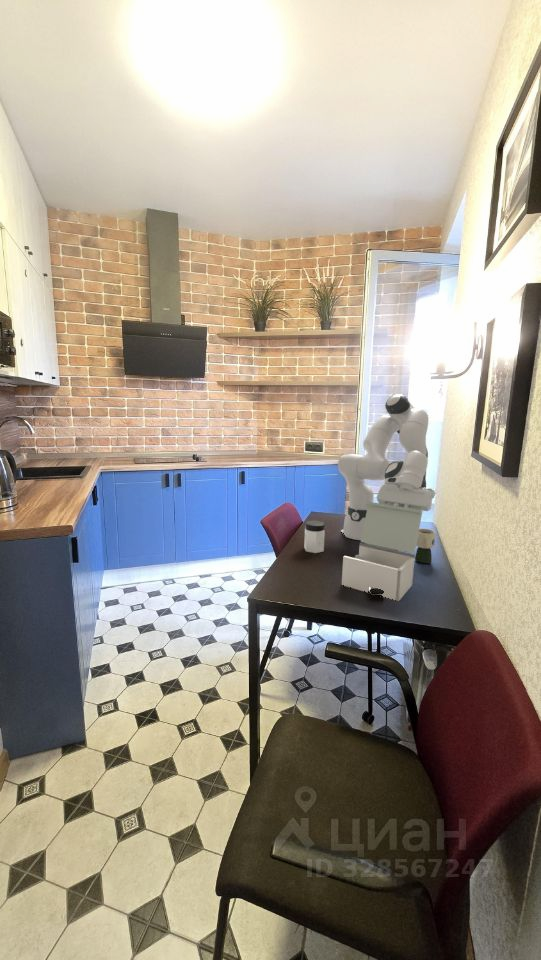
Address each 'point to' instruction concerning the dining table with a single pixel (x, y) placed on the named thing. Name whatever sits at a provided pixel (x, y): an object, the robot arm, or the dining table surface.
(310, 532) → the jar
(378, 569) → the channel
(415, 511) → the cover
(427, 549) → the character mug
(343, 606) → the dining table surface
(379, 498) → the robot arm
